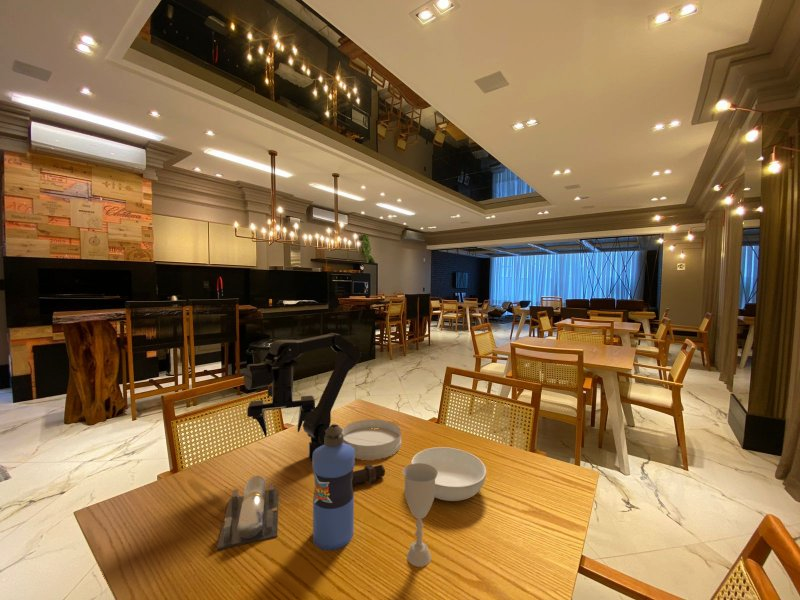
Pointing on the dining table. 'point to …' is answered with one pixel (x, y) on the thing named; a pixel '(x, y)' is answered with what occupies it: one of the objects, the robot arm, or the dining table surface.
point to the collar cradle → (230, 524)
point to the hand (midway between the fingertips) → (282, 433)
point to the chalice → (419, 506)
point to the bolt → (368, 474)
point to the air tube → (252, 508)
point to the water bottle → (333, 491)
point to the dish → (372, 438)
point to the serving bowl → (453, 472)
